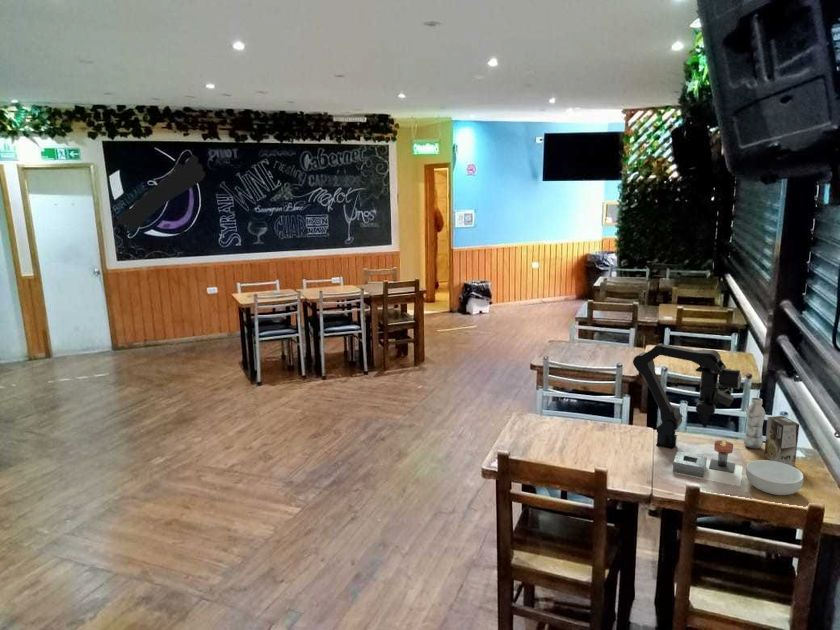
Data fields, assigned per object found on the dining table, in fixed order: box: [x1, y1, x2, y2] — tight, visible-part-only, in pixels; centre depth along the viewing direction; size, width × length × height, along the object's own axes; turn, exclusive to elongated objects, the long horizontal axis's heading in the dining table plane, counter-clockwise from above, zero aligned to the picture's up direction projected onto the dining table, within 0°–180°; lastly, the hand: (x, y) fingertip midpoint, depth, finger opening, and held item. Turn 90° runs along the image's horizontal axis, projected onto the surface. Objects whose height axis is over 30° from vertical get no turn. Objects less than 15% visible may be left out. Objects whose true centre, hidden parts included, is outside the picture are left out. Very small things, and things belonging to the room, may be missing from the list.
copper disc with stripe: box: [713, 439, 734, 467], centre depth 213 cm, size 6×6×9 cm
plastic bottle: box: [743, 397, 766, 450], centre depth 229 cm, size 6×7×20 cm
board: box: [673, 459, 744, 487], centre depth 212 cm, size 21×17×1 cm
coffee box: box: [764, 415, 800, 467], centre depth 217 cm, size 9×6×16 cm
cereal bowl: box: [745, 459, 804, 496], centre depth 197 cm, size 17×17×7 cm
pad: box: [709, 458, 736, 473], centre depth 214 cm, size 8×8×1 cm
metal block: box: [672, 451, 708, 479], centre depth 212 cm, size 10×10×4 cm
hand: (706, 422), depth 223 cm, fingers open, 9 cm apart
